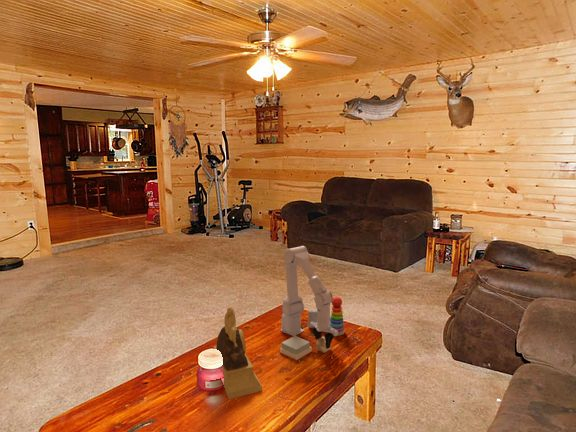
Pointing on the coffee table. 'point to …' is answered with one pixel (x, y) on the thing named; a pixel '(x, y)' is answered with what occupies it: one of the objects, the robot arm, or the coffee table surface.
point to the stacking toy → (337, 316)
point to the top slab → (295, 345)
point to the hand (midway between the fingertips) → (323, 345)
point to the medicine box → (312, 316)
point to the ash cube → (322, 345)
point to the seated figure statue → (236, 360)
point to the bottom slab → (297, 354)
